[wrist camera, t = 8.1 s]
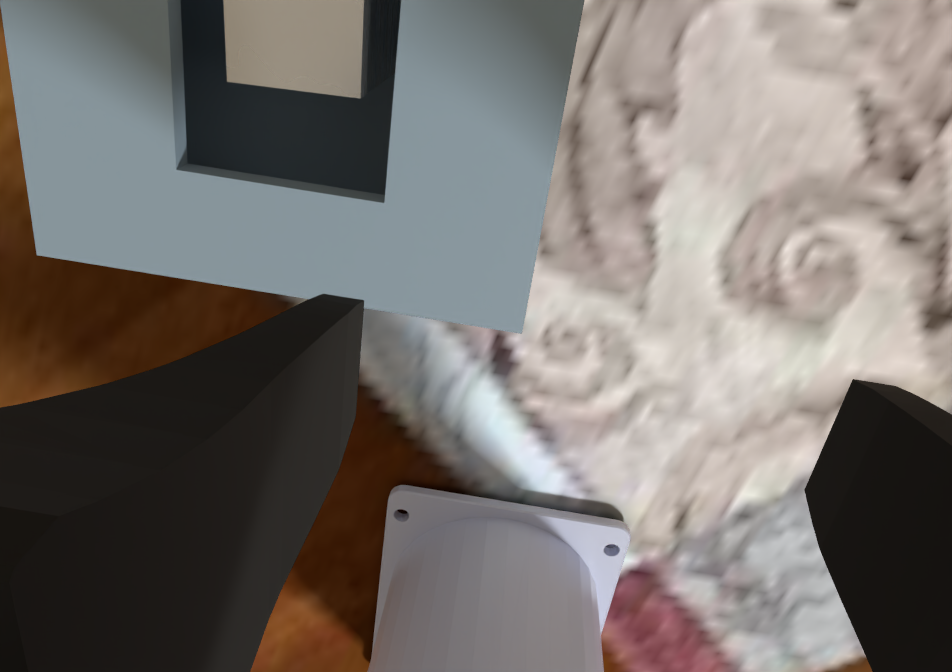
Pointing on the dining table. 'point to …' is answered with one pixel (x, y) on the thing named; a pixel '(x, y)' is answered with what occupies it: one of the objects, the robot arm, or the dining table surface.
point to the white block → (312, 44)
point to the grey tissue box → (297, 154)
